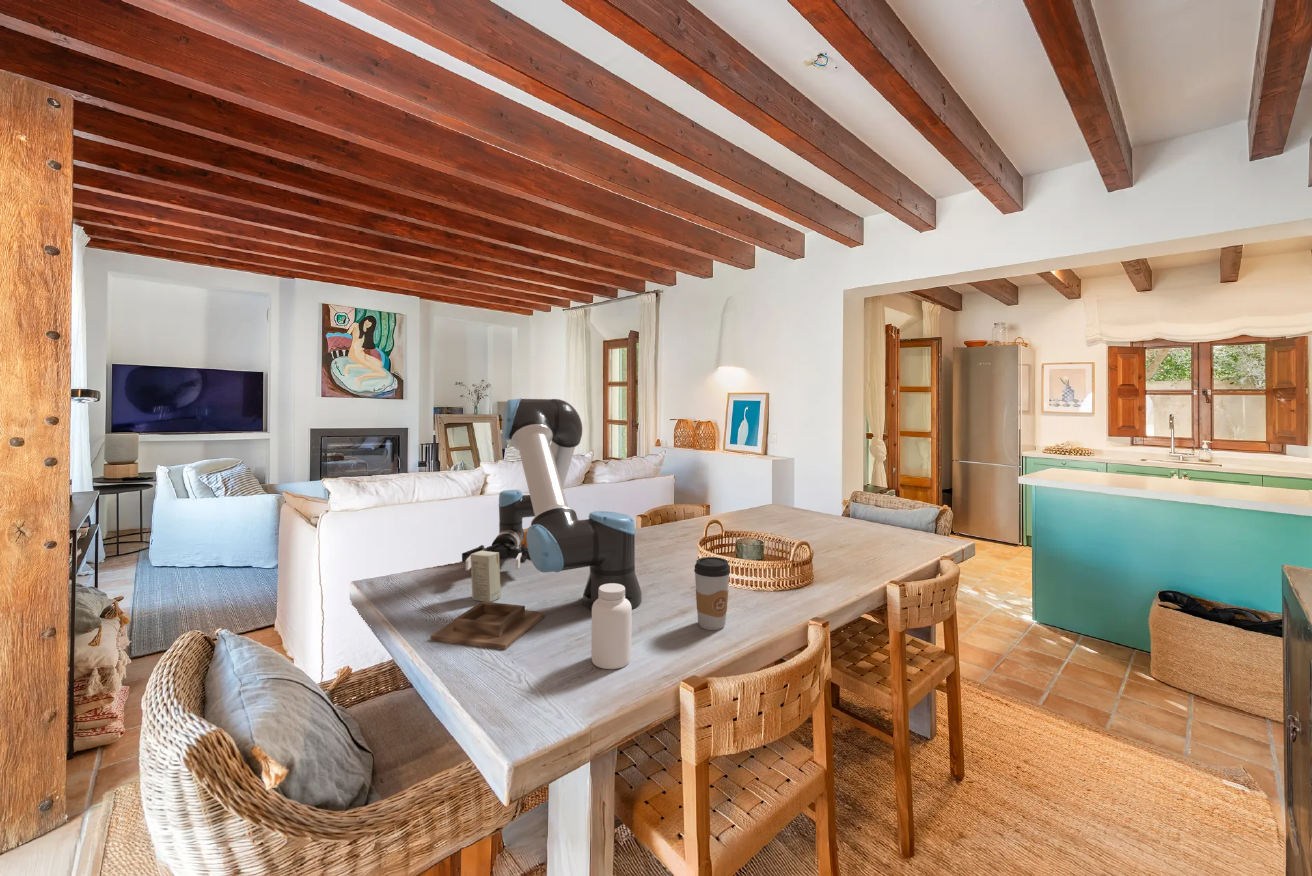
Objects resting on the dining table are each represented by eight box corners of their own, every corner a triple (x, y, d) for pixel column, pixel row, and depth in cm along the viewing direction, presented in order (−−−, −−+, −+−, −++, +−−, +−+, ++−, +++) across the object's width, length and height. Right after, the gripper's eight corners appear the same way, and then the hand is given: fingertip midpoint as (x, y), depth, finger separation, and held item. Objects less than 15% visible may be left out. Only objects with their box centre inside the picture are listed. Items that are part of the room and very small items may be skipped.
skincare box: (501, 597, 140) (500, 552, 140) (489, 603, 136) (489, 556, 136) (482, 594, 143) (481, 549, 142) (470, 599, 139) (469, 553, 138)
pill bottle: (626, 672, 101) (625, 595, 100) (586, 668, 103) (585, 592, 102) (635, 653, 109) (635, 582, 108) (598, 649, 111) (598, 579, 110)
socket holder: (544, 616, 128) (543, 602, 128) (505, 649, 111) (505, 633, 111) (477, 609, 133) (477, 595, 132) (430, 640, 115) (430, 624, 115)
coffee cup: (706, 635, 118) (706, 569, 117) (687, 621, 125) (687, 559, 124) (737, 628, 122) (737, 563, 121) (716, 615, 129) (717, 554, 128)
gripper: (545, 555, 171) (537, 576, 149) (465, 557, 168) (446, 579, 147) (545, 532, 170) (537, 550, 149) (465, 533, 167) (445, 552, 146)
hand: (492, 564), depth 148 cm, fingers open, 13 cm apart
